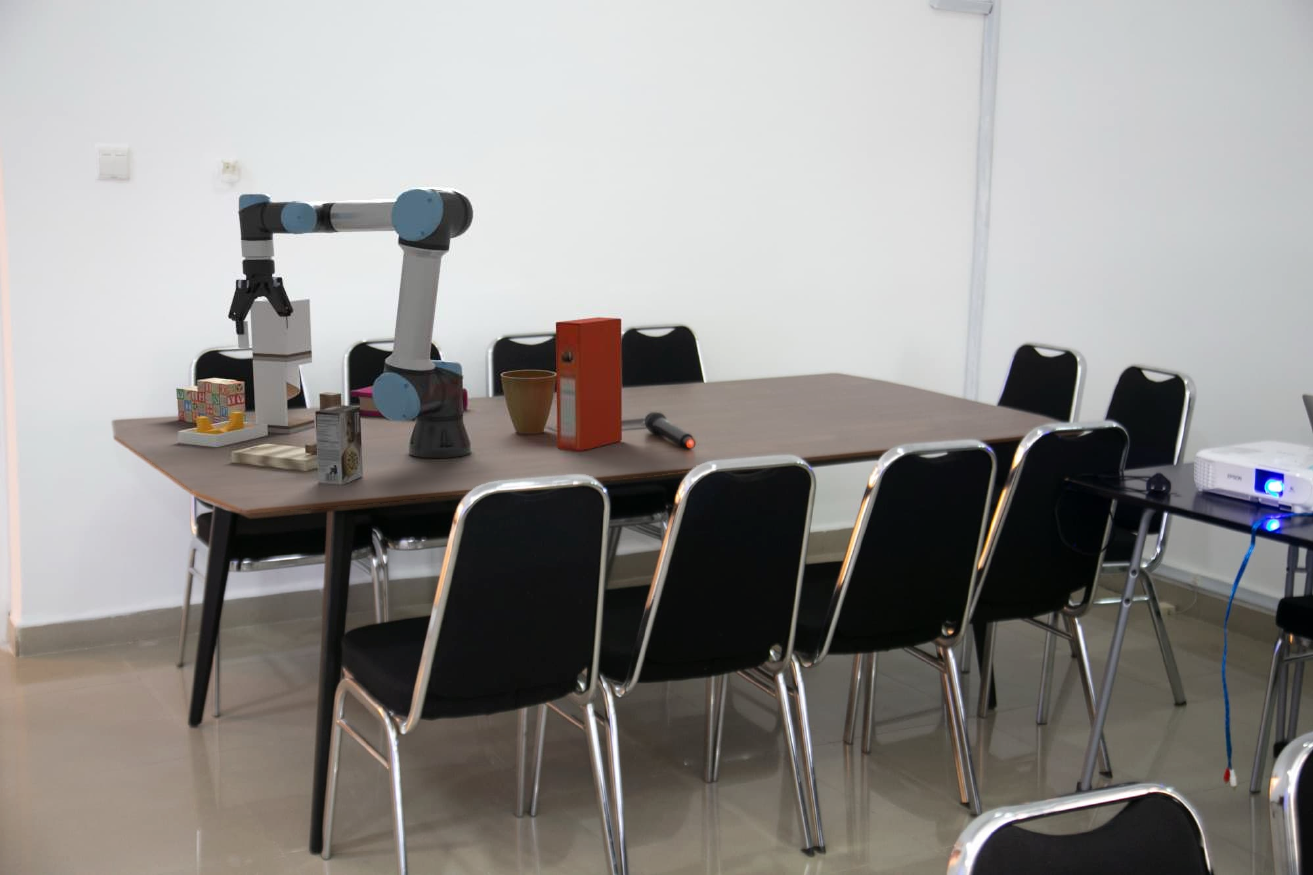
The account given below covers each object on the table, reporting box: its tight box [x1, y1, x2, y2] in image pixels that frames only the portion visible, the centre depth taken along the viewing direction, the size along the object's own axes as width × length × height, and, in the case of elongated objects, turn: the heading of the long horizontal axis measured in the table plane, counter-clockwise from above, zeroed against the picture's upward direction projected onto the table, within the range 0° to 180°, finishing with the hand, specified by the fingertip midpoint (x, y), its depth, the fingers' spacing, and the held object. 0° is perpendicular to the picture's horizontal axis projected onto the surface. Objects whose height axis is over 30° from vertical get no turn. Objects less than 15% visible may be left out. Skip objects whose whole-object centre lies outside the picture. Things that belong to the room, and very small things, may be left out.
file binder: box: [555, 316, 623, 452], centre depth 325 cm, size 8×17×32 cm, turn 146°
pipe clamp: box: [196, 411, 244, 435], centre depth 331 cm, size 12×4×6 cm, turn 142°
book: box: [349, 385, 469, 417], centre depth 377 cm, size 21×28×8 cm
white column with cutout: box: [249, 298, 316, 435], centre depth 343 cm, size 11×11×35 cm
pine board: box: [230, 443, 318, 472], centre depth 303 cm, size 22×12×3 cm, turn 65°
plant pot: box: [500, 369, 557, 435], centre depth 343 cm, size 15×15×16 cm
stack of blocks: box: [175, 377, 247, 424], centre depth 355 cm, size 21×6×12 cm, turn 57°
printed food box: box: [314, 404, 364, 486], centre depth 283 cm, size 9×6×16 cm
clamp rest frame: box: [177, 421, 269, 448], centre depth 331 cm, size 13×19×3 cm
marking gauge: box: [304, 391, 342, 454], centre depth 301 cm, size 5×10×16 cm, turn 155°
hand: (263, 345), depth 315 cm, fingers open, 13 cm apart
